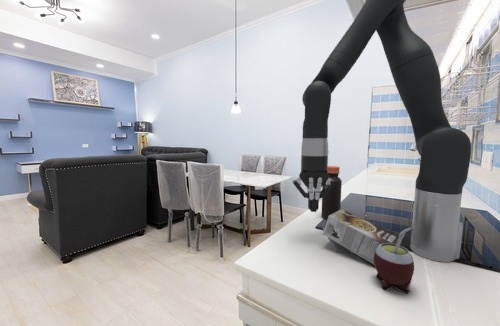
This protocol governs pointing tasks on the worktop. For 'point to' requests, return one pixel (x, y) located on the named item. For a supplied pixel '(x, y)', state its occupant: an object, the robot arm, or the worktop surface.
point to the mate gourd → (394, 264)
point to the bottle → (332, 194)
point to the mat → (338, 245)
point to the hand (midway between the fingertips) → (313, 210)
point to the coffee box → (357, 234)
